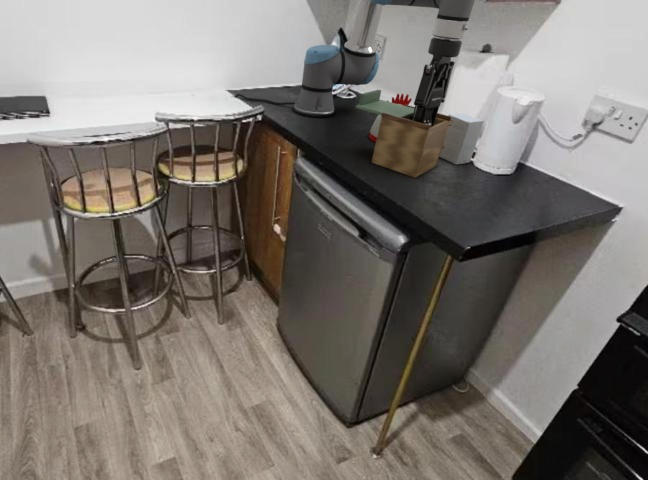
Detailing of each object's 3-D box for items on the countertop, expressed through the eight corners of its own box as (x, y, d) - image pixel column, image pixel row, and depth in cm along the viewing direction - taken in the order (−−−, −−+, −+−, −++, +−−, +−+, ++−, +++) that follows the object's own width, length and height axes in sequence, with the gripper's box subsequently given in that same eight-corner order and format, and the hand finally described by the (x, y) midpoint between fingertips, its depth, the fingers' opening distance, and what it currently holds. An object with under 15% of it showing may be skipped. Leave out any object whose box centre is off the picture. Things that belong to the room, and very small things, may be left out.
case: (370, 162, 135) (382, 112, 127) (394, 151, 144) (406, 104, 136) (414, 178, 127) (429, 126, 119) (436, 165, 136) (451, 116, 128)
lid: (355, 107, 133) (358, 94, 131) (377, 101, 141) (380, 88, 139) (399, 120, 125) (402, 106, 123) (419, 112, 133) (423, 99, 131)
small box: (470, 162, 140) (484, 120, 133) (455, 165, 138) (469, 122, 131) (450, 153, 146) (463, 112, 139) (435, 155, 144) (448, 114, 137)
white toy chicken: (418, 146, 150) (431, 100, 142) (380, 146, 147) (391, 99, 139) (398, 132, 161) (409, 88, 153) (362, 132, 158) (371, 87, 150)
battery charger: (419, 131, 125) (431, 88, 119) (408, 127, 127) (419, 85, 121) (435, 128, 128) (447, 86, 122) (424, 124, 131) (436, 83, 125)
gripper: (445, 43, 107) (418, 138, 119) (476, 38, 120) (449, 124, 132) (415, 38, 111) (393, 130, 123) (448, 33, 124) (425, 118, 136)
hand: (422, 127), depth 128 cm, fingers closed on battery charger, 7 cm apart
